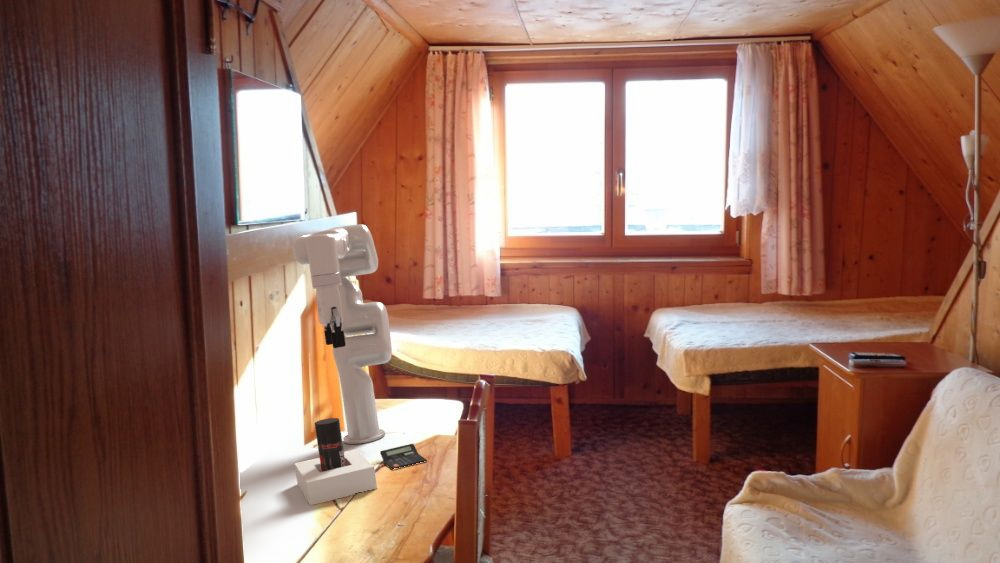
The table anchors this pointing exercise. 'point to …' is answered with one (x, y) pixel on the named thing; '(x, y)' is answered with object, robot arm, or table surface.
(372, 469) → the socket board
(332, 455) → the deodorant
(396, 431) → the table surface
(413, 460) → the calculator
